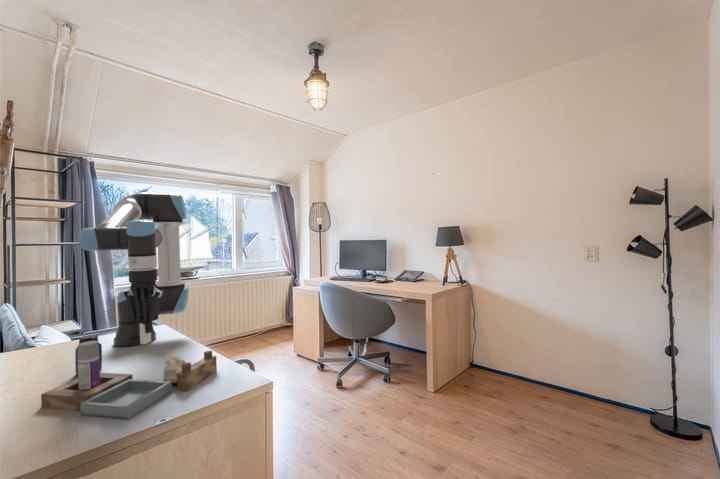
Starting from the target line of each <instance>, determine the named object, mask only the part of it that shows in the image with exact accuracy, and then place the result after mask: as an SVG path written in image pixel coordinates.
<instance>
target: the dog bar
mask: <svg viewBox="0 0 720 479" xmlns="http://www.w3.org/2000/svg"><path fill="white" fill-rule="evenodd" d="M215 371H216V372H217V371H218V370H217V356H216V355H213V351H212V350H206V351H204V352H203V358H202V359H199V360H198V361H196V362H194V363H193V364H192V362H186V363H183V364H182V371H180V372H179V373H177V383H176V385H177V386H176V387H177V391H178V392H188V391H189V390H191V389H192V388H194V387H196V386H197V385H198V384H200V383H202V382H203V381H205V380H206V379H207V378H209V377H210V376H212V375H213V374H215V373H216V372H215ZM214 372H215V373H214ZM211 374H212V375H211ZM208 376H209V377H208Z"/></svg>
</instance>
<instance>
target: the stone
mask: <svg viewBox="0 0 720 479" xmlns="http://www.w3.org/2000/svg"><path fill="white" fill-rule="evenodd" d="M183 363H187V362H186V361H185V360H184V359H183V358H180V357H177V356H172V355H170V356H168V357H167V358H166V361H165V366H164V368H163V381H168V382H172V385H173V384H174V385H175V384H177V373H179V372H180V371H182V364H183Z"/></svg>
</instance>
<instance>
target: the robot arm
mask: <svg viewBox="0 0 720 479" xmlns="http://www.w3.org/2000/svg"><path fill="white" fill-rule="evenodd" d="M113 208H114V209H113V210H112V212H110V214H109V215H107V217H106V218H105V219H104V220H103V221H102V222H101V223H100V224H99V225H98V226H97V227H84V228H82V229H81V230H80V233H79V244H80V247H81V248H82V249H83V250H84V251H88V252H89V251H96V252H99V251H119V250H120V251H121V250H123V251H125V250H126V251H127V259H128V262H127V263H128V265H127V266H128V269H129V271H128V282H129V283H130V288H127V289H124V290H120V292H118V294H117V302H116V303H117V304H116V305H117V321H118V322H117V329H116V332H115V337H114V338H113V346H114V347H119V348H124V347H134V346H139V345H146V344H148V343H151V342H152V341H154V340H156V339H157V333H156V331H155V330H154V326H153V322H154V321H157V320H158V319H159V316H160V315H161V316H163V315H168V314H169V315H171V314H173V315H174V314H179V313H183V312H185V311H186V309H187V305H188V299H189V294H190V293H189V292H190V291H189V289H190V288H189V286H187V285H185V281H184V280H182V277H181V276H182V275H181V274H182V273H181V247H180V246H181V245H180V240H181V239H180V227H181V225H183V224H184V222H183V221H184V220H186V219H187V211H186V206H185V201H184V198H183V196H182V195H181V194H180V193H174V192H173V193H172V192H137V193H134V194H131V195H128V196H125V197H124V198H122V199H121V200H119V201H117V203H115V206H114V207H113ZM157 267H158V268H157ZM156 268H157V269H156ZM157 280H158V281H157Z"/></svg>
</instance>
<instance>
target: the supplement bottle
mask: <svg viewBox="0 0 720 479" xmlns="http://www.w3.org/2000/svg"><path fill="white" fill-rule="evenodd" d="M98 338H99V337H98V334H89V335H88V334H87V335H84V336H80V337H79V338H78V340H79V341H78V344H80V343H83V342H87V341H98V345H99V360H100V372H101V371H102V368H103V355H102V354H103V352H102V351H103V350H102V349H103V348H102V346H103V345H102V344H101V342H99V339H98ZM74 353H75V355H74V356H75V358H74V359H75V360H74V363H75V364H74V365H75V370H74V371H75V375H76V376H77V377H78V346H76V347H75V350H74Z"/></svg>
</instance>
